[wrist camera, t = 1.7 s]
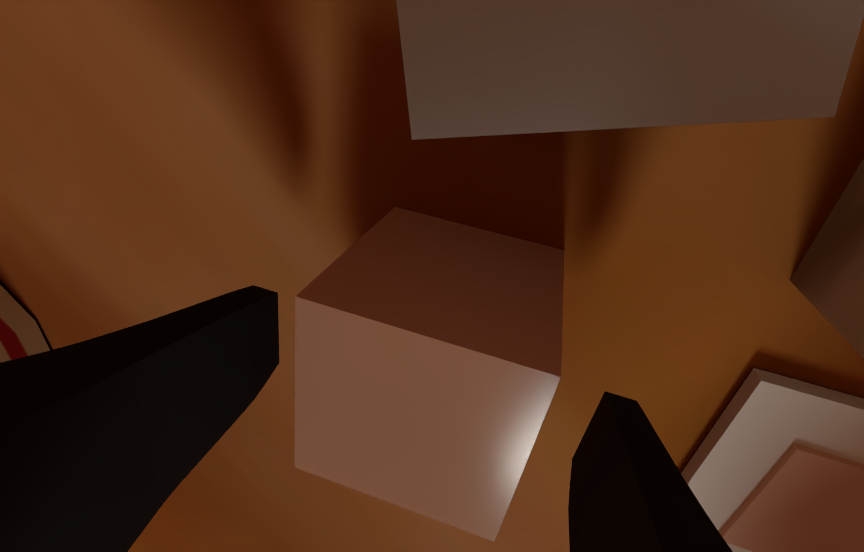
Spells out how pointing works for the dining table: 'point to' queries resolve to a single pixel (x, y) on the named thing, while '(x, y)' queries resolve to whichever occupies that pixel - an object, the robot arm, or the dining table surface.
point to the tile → (784, 468)
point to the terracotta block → (429, 366)
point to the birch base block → (839, 265)
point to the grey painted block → (620, 63)
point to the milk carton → (18, 331)
